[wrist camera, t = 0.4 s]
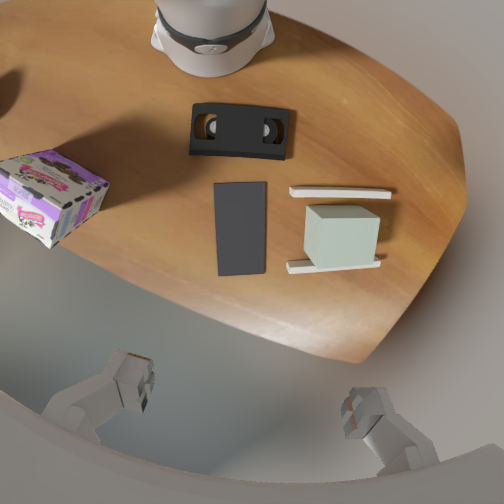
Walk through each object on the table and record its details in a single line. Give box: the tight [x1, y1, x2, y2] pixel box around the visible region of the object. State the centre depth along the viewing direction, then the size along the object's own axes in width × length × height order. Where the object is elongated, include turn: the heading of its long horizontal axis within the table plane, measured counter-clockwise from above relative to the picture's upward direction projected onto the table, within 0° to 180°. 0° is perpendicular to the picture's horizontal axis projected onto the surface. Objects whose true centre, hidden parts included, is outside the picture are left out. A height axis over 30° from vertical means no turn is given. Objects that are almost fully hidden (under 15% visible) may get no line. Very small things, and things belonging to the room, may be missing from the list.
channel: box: [214, 182, 391, 276], centre depth 46 cm, size 16×30×2 cm, turn 90°
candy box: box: [0, 149, 110, 249], centre depth 31 cm, size 14×6×16 cm, turn 56°
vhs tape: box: [189, 103, 289, 161], centre depth 39 cm, size 14×8×2 cm, turn 85°
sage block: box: [304, 205, 380, 269], centre depth 45 cm, size 8×10×8 cm
